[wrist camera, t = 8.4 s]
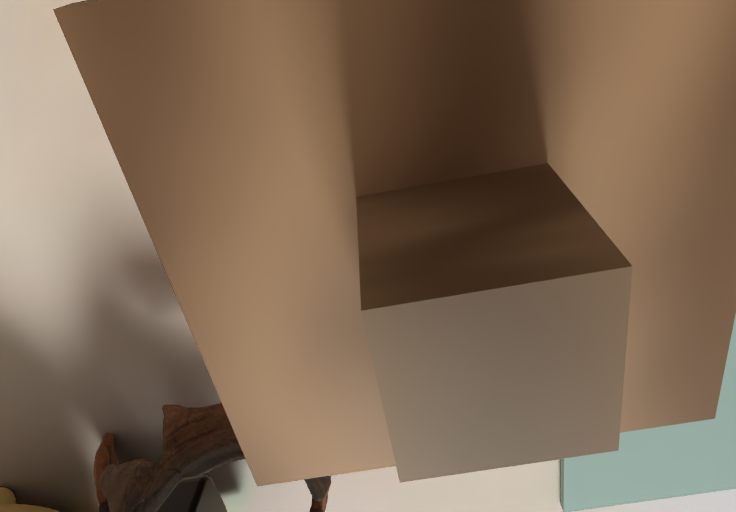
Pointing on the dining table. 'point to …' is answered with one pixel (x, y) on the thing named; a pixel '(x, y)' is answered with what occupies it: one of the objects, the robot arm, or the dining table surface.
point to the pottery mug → (176, 461)
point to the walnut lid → (433, 216)
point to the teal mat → (660, 459)
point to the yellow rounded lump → (3, 507)
